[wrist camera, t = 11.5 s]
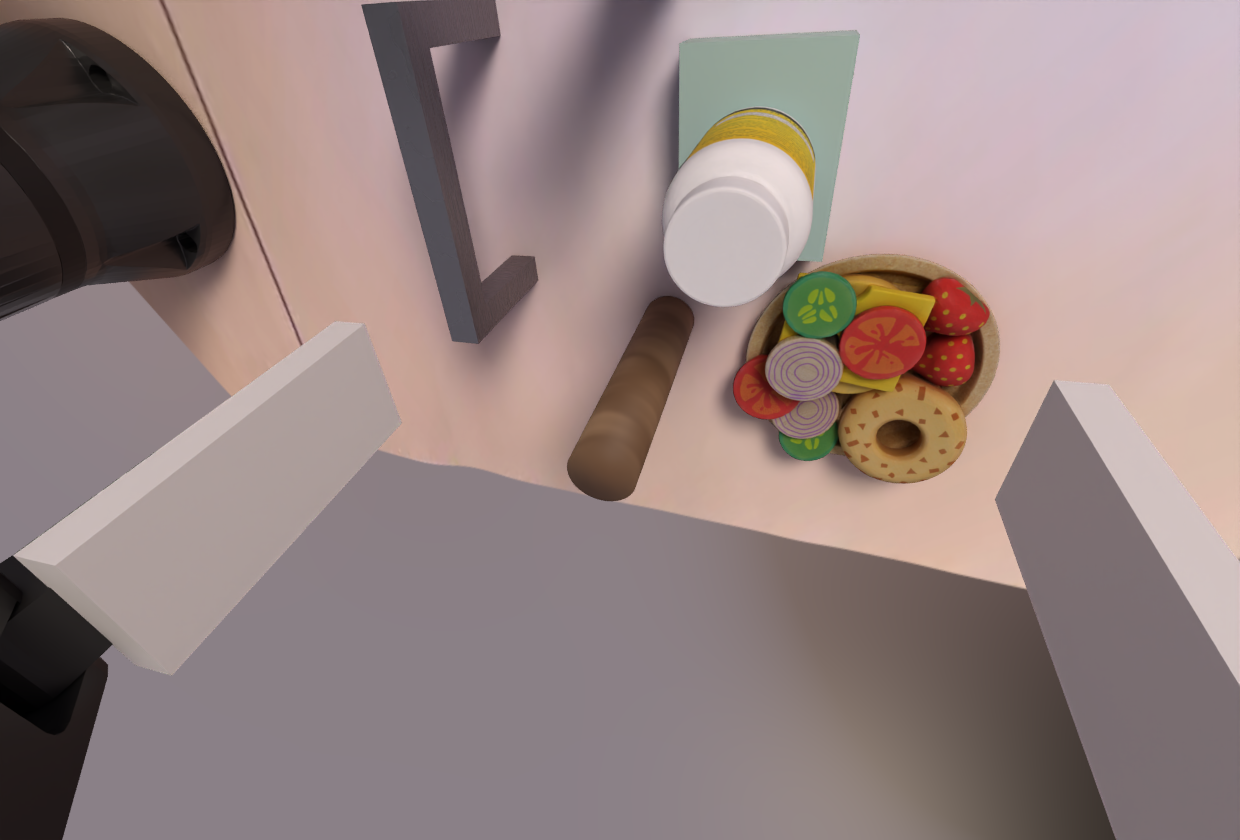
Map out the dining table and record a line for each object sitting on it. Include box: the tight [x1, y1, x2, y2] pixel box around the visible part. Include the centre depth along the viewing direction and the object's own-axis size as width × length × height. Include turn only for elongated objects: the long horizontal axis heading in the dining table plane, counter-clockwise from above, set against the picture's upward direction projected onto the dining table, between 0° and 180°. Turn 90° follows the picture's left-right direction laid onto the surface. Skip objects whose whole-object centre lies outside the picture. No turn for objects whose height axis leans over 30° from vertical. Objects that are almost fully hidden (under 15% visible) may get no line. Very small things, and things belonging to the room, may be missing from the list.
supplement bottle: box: [662, 106, 816, 307], centre depth 22 cm, size 5×5×10 cm
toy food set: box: [733, 254, 1000, 483], centre depth 31 cm, size 13×13×3 cm
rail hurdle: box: [362, 0, 538, 344], centre depth 28 cm, size 2×14×8 cm, turn 4°
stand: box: [679, 30, 860, 262], centre depth 26 cm, size 7×9×2 cm
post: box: [567, 296, 694, 501], centre depth 28 cm, size 3×3×14 cm
